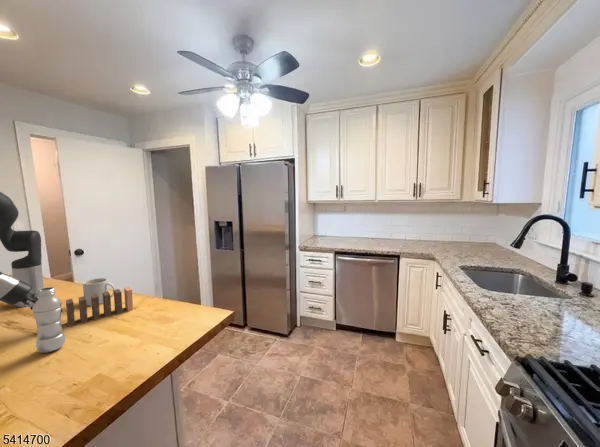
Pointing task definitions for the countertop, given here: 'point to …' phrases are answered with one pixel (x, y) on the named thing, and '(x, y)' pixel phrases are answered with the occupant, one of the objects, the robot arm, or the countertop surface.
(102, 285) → the mug
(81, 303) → the domino
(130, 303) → the domino
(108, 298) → the domino
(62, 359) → the countertop surface
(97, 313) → the domino
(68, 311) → the domino
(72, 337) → the countertop surface
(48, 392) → the countertop surface
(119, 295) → the domino
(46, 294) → the plastic bottle
